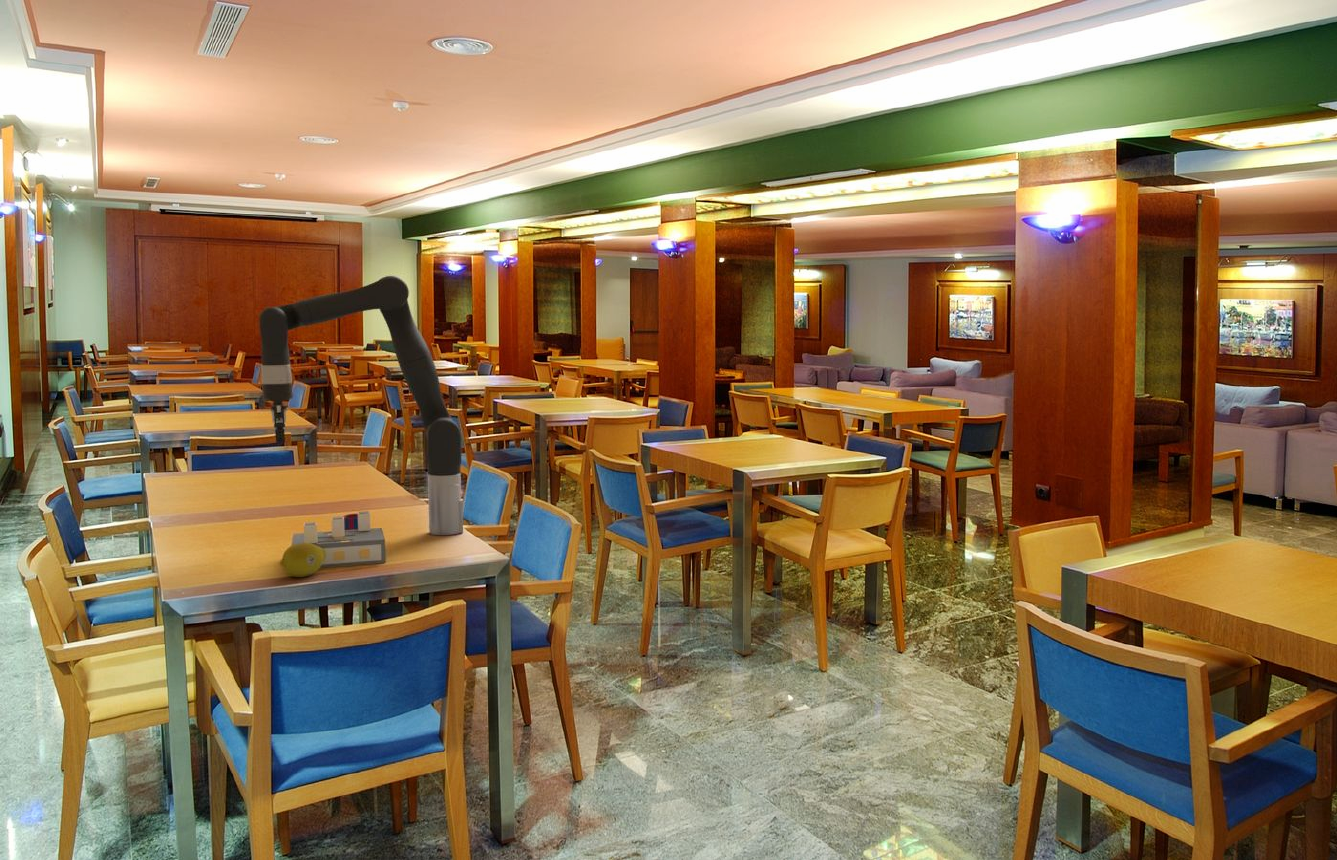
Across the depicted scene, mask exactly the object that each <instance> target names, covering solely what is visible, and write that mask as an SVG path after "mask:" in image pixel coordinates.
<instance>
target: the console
mask: <svg viewBox="0 0 1337 860" xmlns="http://www.w3.org/2000/svg"><path fill="white" fill-rule="evenodd" d="M317 540H318V541H317V543H310V544H314V545H316V546H318V547H320V548H323V549H324V550H325V551H326V557H325V560H324V561H323V562H322V565H321V566H320V568H319V569H323V568H324V569H325V568H334V567H335V568H336V567H347V566H358V565H362V566H363V565H371V564H372V565H373V564H384V563H386V562H387V561H386V560H387V559H386V539H385V534H384V531H383V528H382V527H377V528H376V527H375V528H370V531H358V529H357V530H345V537H332V530H329V531H317ZM299 543H304V532H301V533H293V534H292V541H291V546H293V545H295V544H299ZM291 546H290V547H291Z"/></svg>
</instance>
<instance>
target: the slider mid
mask: <svg viewBox="0 0 1337 860" xmlns="http://www.w3.org/2000/svg"><path fill="white" fill-rule="evenodd" d="M343 516H344V515H343ZM343 516H332V517H331V531H332V537H345V530H344V517H343Z"/></svg>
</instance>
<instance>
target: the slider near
mask: <svg viewBox="0 0 1337 860" xmlns="http://www.w3.org/2000/svg"><path fill="white" fill-rule="evenodd" d="M317 532H318V523H317V522H315V521H314V522H312V521H311V522H310V521H309V522H304V523H303V533H304V543H317V541H318V540H317Z"/></svg>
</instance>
